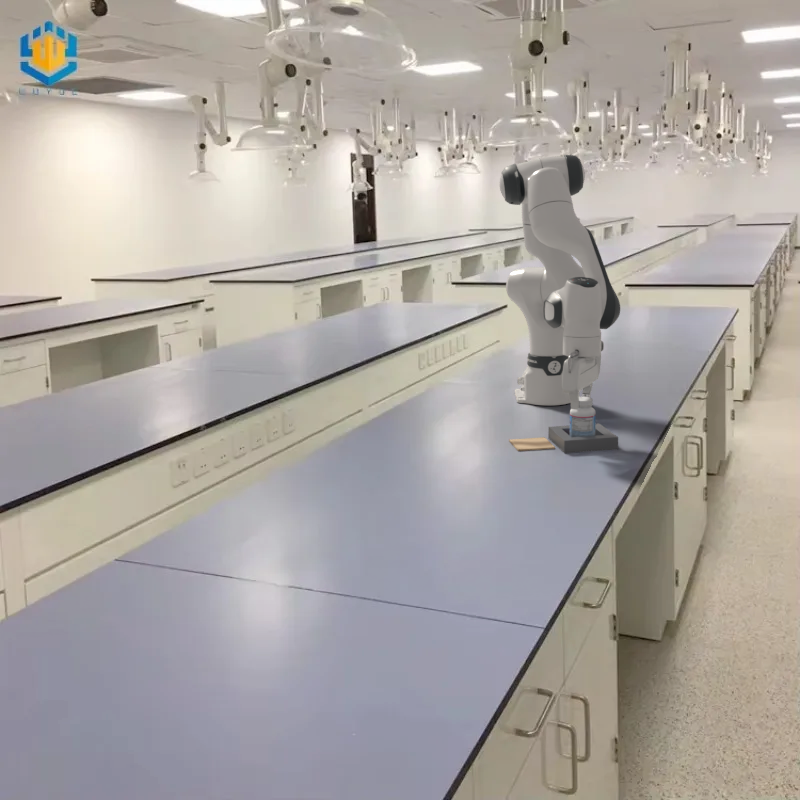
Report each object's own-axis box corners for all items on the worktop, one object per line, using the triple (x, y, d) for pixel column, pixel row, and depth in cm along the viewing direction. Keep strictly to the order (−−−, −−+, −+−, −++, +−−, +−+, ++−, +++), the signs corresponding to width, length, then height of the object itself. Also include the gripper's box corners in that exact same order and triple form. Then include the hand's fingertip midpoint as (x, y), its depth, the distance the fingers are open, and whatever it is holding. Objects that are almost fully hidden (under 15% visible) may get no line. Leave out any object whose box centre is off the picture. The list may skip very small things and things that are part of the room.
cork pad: (509, 441, 212) (509, 439, 212) (544, 438, 213) (544, 437, 213) (518, 451, 203) (518, 449, 203) (555, 448, 204) (555, 447, 204)
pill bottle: (576, 439, 212) (577, 394, 209) (599, 442, 208) (600, 397, 205) (564, 445, 207) (565, 399, 205) (587, 448, 203) (588, 402, 201)
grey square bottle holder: (548, 438, 213) (548, 426, 212) (599, 435, 214) (599, 423, 214) (564, 453, 200) (564, 440, 200) (617, 449, 202) (618, 437, 201)
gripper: (583, 354, 192) (581, 414, 194) (605, 342, 209) (604, 397, 212) (555, 353, 194) (554, 412, 197) (580, 341, 212) (579, 395, 215)
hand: (580, 404), depth 205 cm, fingers open, 8 cm apart
